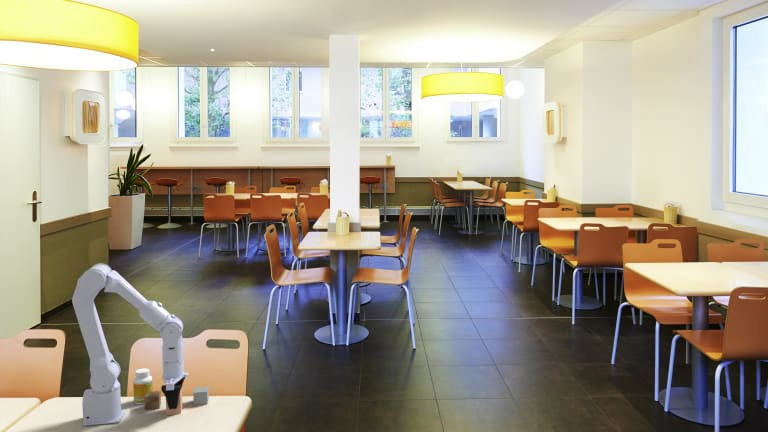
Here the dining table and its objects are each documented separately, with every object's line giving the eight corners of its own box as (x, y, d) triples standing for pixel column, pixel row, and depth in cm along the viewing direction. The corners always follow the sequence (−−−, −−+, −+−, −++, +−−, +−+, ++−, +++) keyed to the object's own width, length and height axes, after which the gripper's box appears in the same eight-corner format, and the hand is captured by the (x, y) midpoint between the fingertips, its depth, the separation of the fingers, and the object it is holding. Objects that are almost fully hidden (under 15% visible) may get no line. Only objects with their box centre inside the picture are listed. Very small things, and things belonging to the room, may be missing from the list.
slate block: (193, 405, 168) (193, 392, 167) (195, 400, 172) (194, 387, 171) (207, 404, 169) (207, 391, 168) (208, 399, 172) (208, 386, 172)
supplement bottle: (147, 405, 168) (146, 373, 167) (130, 404, 168) (129, 373, 167) (156, 397, 173) (155, 367, 172) (139, 397, 173) (138, 367, 173)
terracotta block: (166, 414, 161) (165, 391, 161) (168, 408, 165) (167, 386, 165) (180, 413, 162) (180, 390, 162) (182, 407, 166) (181, 385, 165)
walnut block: (144, 410, 164) (144, 397, 164) (146, 405, 168) (146, 392, 168) (159, 409, 165) (158, 396, 165) (161, 403, 169) (160, 390, 169)
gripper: (184, 367, 156) (185, 413, 157) (190, 350, 170) (191, 393, 171) (157, 369, 155) (159, 416, 156) (165, 352, 169) (167, 395, 170)
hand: (174, 404), depth 163 cm, fingers open, 5 cm apart
